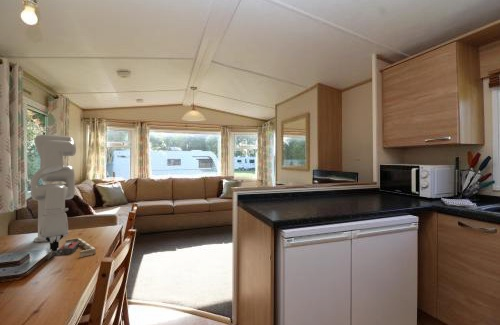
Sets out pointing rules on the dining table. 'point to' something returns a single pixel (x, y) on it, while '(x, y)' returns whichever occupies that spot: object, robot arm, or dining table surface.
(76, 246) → the walkie-talkie
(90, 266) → the dining table surface
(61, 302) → the dining table surface
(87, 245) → the beige segmented bracket
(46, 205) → the robot arm
